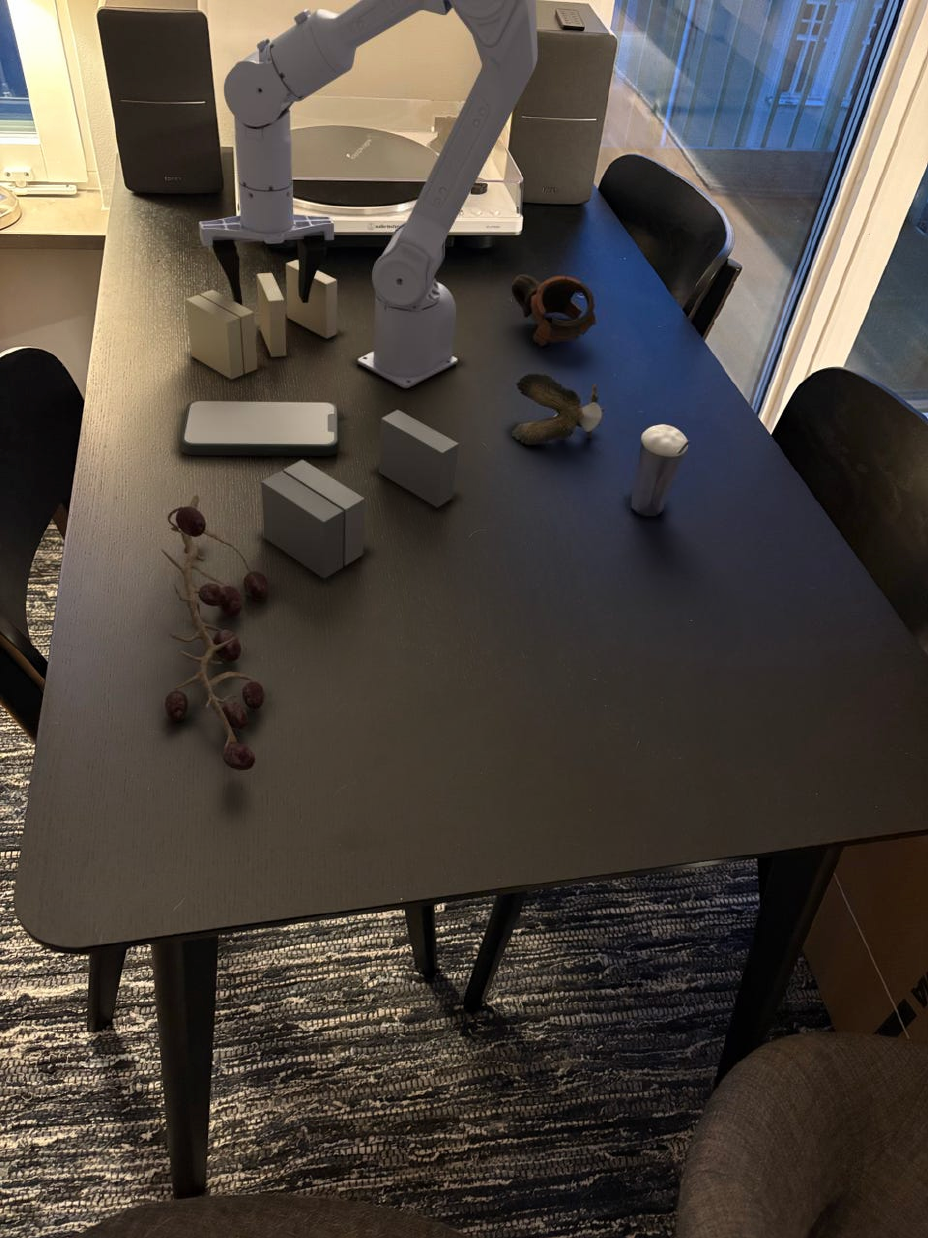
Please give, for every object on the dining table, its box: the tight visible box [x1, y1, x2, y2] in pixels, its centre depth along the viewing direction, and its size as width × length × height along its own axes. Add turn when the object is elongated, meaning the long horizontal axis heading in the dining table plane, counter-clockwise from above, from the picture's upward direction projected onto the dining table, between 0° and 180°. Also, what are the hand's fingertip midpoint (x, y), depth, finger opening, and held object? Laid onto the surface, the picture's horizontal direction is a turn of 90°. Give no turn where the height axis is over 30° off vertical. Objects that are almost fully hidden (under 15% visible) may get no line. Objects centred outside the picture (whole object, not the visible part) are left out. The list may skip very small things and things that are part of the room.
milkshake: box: [630, 423, 692, 517], centre depth 96 cm, size 5×5×10 cm
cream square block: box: [256, 272, 287, 358], centre depth 114 cm, size 2×7×7 cm, turn 20°
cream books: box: [185, 259, 338, 380], centre depth 113 cm, size 17×7×7 cm, turn 140°
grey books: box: [260, 409, 459, 580], centre depth 92 cm, size 18×8×6 cm, turn 140°
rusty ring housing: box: [510, 274, 597, 347], centre depth 123 cm, size 12×10×8 cm
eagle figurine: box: [511, 372, 605, 446], centre depth 106 cm, size 8×7×9 cm
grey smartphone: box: [179, 400, 340, 457], centre depth 102 cm, size 9×2×16 cm
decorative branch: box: [160, 494, 270, 771], centre depth 79 cm, size 11×9×30 cm
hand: (271, 301), depth 113 cm, fingers open, 7 cm apart
